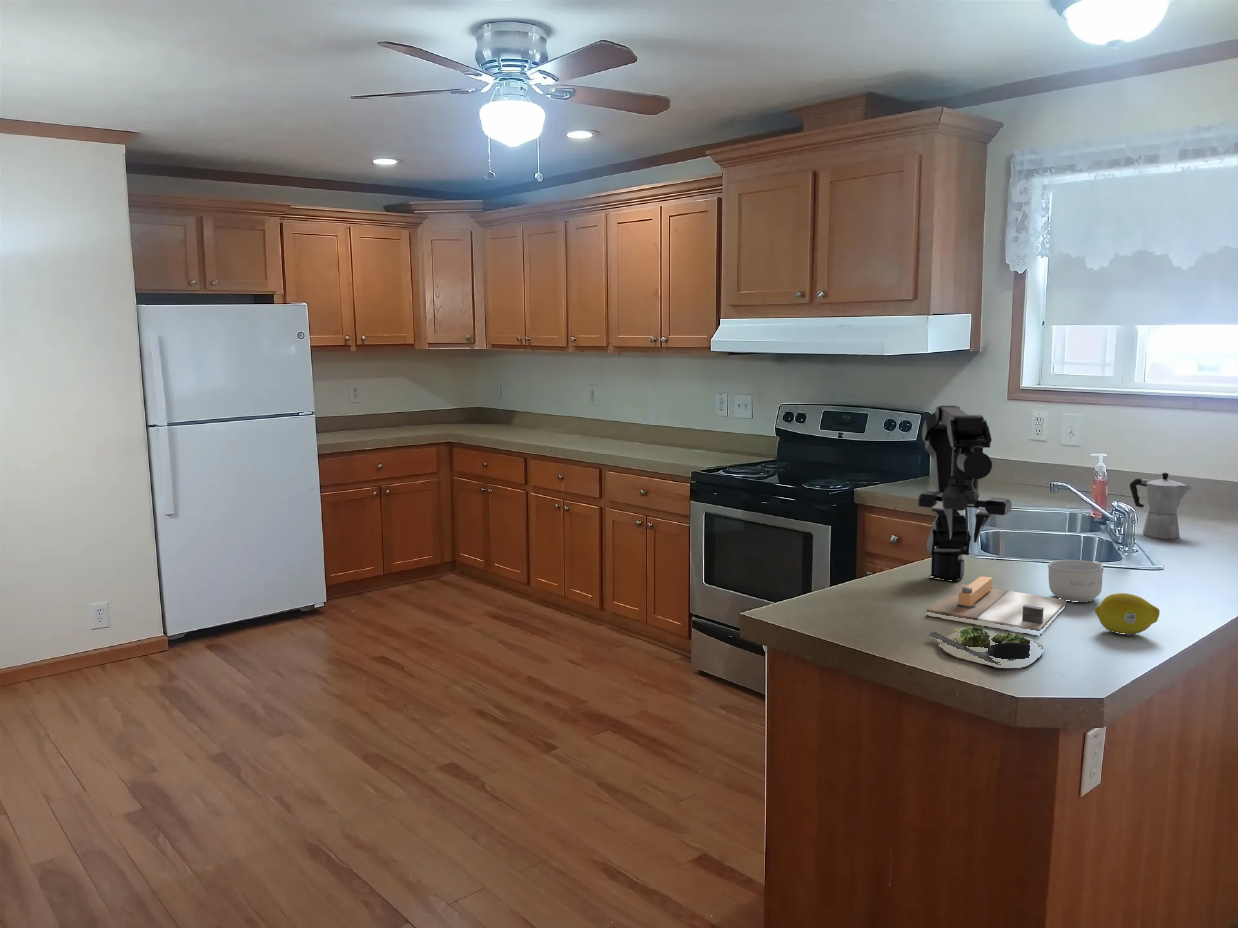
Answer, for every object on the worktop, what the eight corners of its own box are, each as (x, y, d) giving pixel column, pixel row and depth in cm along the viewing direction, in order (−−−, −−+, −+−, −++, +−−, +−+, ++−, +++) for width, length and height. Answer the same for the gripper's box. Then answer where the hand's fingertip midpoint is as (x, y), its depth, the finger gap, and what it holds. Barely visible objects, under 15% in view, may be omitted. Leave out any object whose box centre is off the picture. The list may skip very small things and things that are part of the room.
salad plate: (910, 653, 167) (910, 629, 167) (949, 628, 180) (950, 606, 180) (1016, 679, 154) (1018, 653, 154) (1051, 651, 167) (1053, 627, 166)
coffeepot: (1192, 536, 252) (1197, 473, 250) (1182, 542, 246) (1187, 477, 243) (1132, 528, 263) (1136, 467, 261) (1121, 533, 257) (1125, 471, 254)
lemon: (1091, 635, 174) (1094, 595, 173) (1095, 623, 181) (1098, 585, 180) (1156, 644, 169) (1159, 603, 167) (1158, 632, 175) (1161, 593, 174)
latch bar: (970, 606, 187) (971, 590, 186) (958, 604, 189) (958, 588, 188) (991, 588, 199) (992, 574, 199) (980, 586, 201) (980, 572, 200)
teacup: (1071, 608, 191) (1073, 572, 189) (1035, 594, 201) (1036, 559, 200) (1124, 602, 194) (1127, 566, 193) (1086, 588, 205) (1088, 554, 203)
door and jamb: (926, 616, 187) (927, 595, 187) (961, 589, 205) (961, 570, 205) (1039, 636, 174) (1040, 614, 173) (1066, 606, 192) (1067, 586, 191)
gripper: (910, 473, 197) (908, 542, 199) (999, 480, 185) (995, 553, 188) (927, 466, 206) (925, 532, 208) (1013, 473, 194) (1010, 543, 197)
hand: (962, 540), depth 200 cm, fingers open, 5 cm apart
